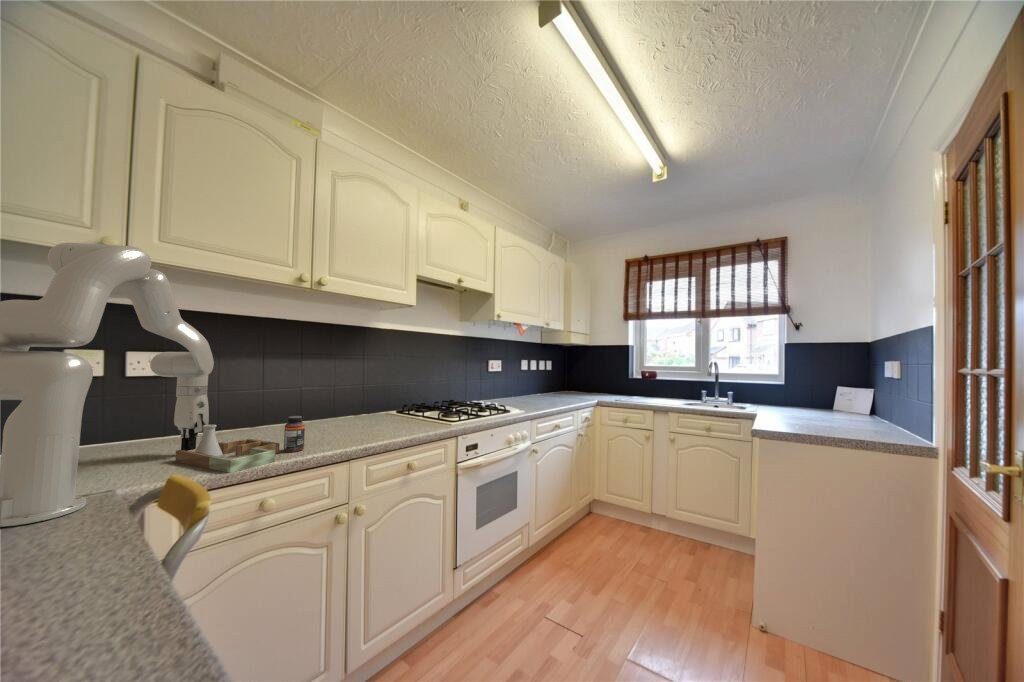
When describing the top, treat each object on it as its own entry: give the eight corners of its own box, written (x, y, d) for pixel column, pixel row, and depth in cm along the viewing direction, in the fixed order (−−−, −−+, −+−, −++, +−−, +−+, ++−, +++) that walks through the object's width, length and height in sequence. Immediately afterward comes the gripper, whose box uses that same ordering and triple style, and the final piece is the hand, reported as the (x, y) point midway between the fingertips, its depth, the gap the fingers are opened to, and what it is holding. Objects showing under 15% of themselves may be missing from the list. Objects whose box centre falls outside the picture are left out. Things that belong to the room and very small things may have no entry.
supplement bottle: (290, 448, 128) (292, 415, 128) (307, 448, 128) (309, 415, 128) (279, 452, 122) (281, 417, 122) (296, 452, 122) (298, 418, 122)
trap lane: (230, 472, 100) (230, 460, 100) (175, 461, 109) (175, 450, 109) (296, 455, 118) (296, 445, 118) (244, 447, 127) (245, 438, 127)
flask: (205, 462, 109) (207, 428, 110) (185, 460, 110) (187, 426, 111) (228, 456, 116) (230, 424, 117) (209, 454, 118) (211, 422, 118)
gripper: (219, 392, 119) (216, 449, 118) (191, 389, 124) (188, 445, 123) (192, 393, 112) (188, 455, 111) (164, 391, 117) (160, 449, 116)
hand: (188, 449), depth 117 cm, fingers closed
